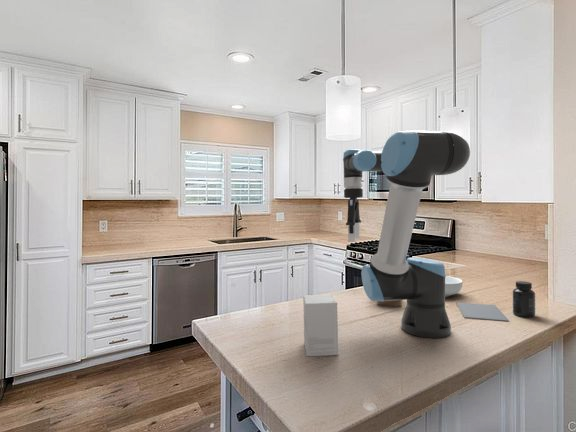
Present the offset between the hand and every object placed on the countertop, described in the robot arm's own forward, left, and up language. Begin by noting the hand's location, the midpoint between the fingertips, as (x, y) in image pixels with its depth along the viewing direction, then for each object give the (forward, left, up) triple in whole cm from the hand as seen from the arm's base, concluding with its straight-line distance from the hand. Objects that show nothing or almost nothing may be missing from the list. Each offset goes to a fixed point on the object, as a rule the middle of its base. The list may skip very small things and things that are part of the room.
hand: (354, 239), depth 140 cm
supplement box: (-46, +4, -27) cm, 54 cm away
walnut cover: (+6, -14, -27) cm, 30 cm away
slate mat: (+2, -47, -27) cm, 54 cm away
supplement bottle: (+2, -61, -27) cm, 66 cm away
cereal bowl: (+24, -36, -27) cm, 51 cm away
